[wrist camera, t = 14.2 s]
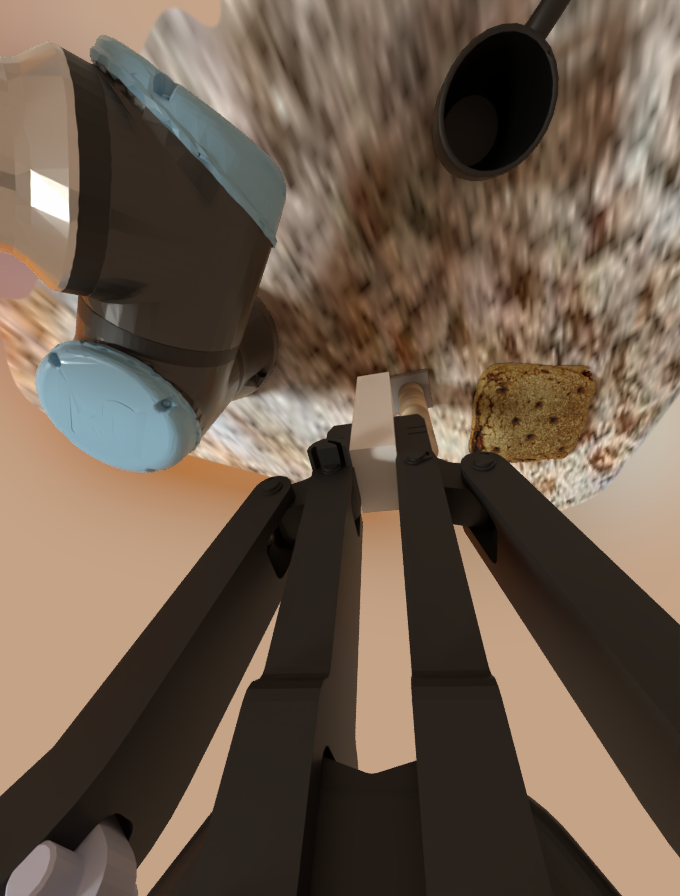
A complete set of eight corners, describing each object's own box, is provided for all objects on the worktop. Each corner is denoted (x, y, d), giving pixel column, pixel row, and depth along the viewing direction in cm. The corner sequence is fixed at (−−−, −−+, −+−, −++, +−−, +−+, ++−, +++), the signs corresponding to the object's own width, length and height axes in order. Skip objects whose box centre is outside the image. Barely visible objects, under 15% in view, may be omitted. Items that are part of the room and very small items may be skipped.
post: (394, 411, 50) (400, 476, 37) (387, 377, 47) (390, 435, 35) (431, 403, 49) (450, 468, 36) (426, 368, 46) (444, 424, 34)
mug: (570, 61, 31) (638, 6, 23) (471, 205, 37) (498, 201, 29) (497, -12, 29) (543, -100, 21) (406, 152, 35) (414, 132, 27)
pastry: (621, 413, 48) (635, 424, 45) (504, 485, 55) (510, 498, 53) (549, 316, 42) (560, 322, 40) (430, 410, 50) (433, 420, 47)
